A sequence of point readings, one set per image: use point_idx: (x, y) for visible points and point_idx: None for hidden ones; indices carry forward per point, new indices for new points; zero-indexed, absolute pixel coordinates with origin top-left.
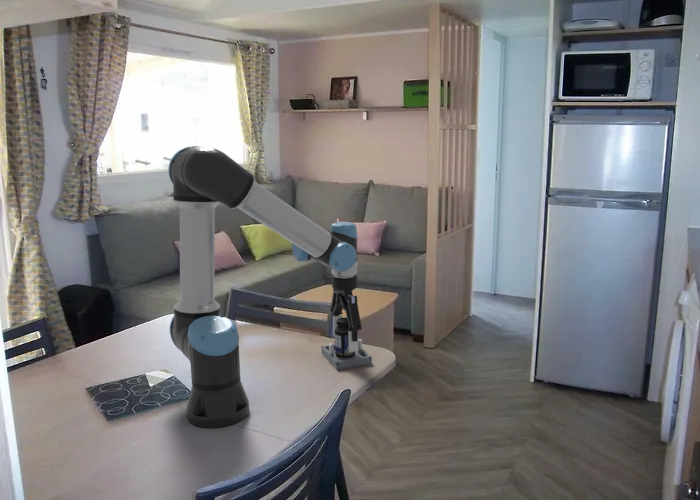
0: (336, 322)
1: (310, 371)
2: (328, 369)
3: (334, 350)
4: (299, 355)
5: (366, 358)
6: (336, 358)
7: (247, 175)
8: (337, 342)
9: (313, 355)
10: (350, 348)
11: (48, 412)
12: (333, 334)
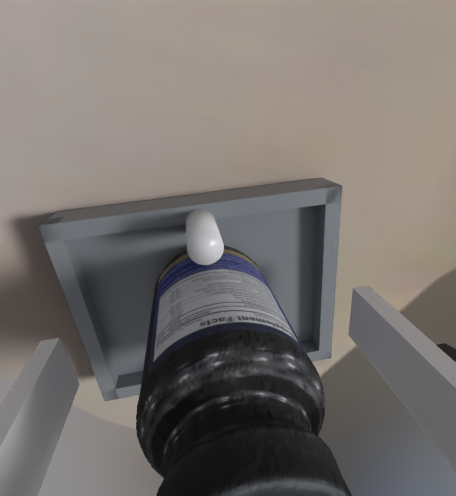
0: (426, 383)
1: (42, 32)
2: (67, 166)
3: (285, 249)
4: (341, 24)
5: (98, 378)
6: (166, 239)
7: None
8: (180, 298)
9: (305, 122)
10: (32, 364)
11: None
12: (373, 292)
